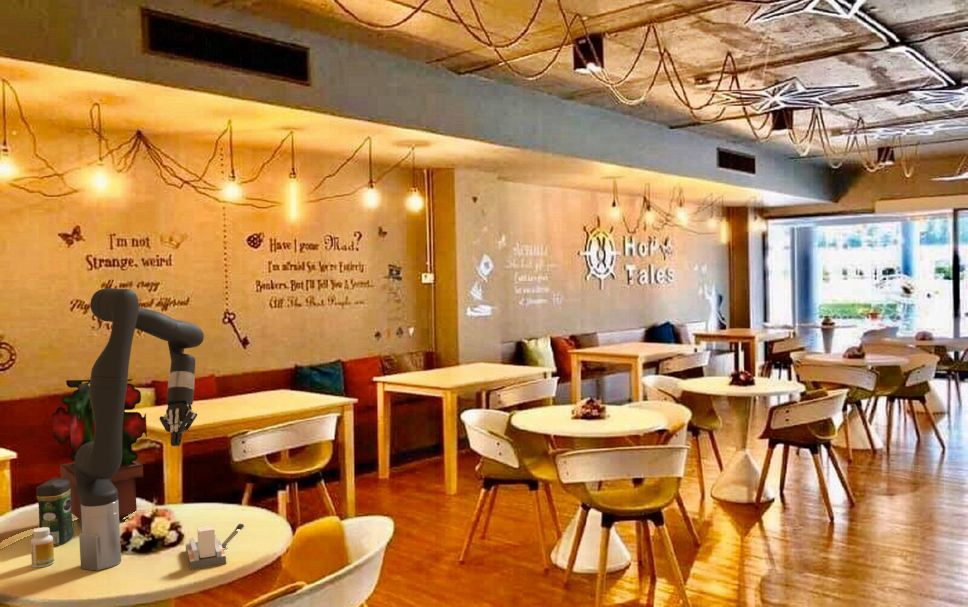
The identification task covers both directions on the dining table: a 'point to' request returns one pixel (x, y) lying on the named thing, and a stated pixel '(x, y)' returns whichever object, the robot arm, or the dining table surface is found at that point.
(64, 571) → the dining table surface
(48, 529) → the supplement bottle
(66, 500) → the coffee jar
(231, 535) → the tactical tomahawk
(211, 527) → the switch tab
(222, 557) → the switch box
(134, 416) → the potted plant
